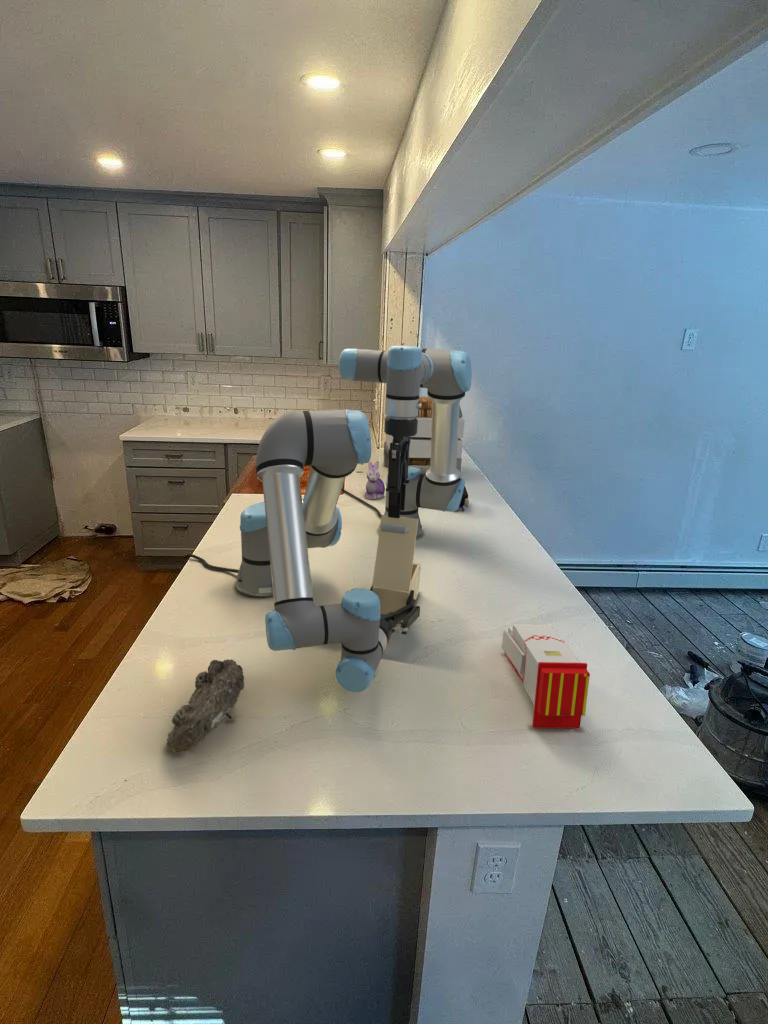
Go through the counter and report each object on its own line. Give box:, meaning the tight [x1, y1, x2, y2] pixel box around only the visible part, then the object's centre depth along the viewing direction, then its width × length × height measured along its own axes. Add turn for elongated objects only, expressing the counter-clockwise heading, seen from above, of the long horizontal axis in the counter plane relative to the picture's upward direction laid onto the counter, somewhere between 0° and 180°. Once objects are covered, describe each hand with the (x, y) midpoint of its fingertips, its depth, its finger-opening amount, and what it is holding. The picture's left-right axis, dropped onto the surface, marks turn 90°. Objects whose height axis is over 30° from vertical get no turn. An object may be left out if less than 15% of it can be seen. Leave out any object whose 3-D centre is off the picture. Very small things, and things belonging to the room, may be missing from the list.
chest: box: [372, 562, 422, 621], centre depth 151 cm, size 17×9×9 cm, turn 167°
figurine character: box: [455, 485, 470, 512], centre depth 229 cm, size 7×8×15 cm
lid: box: [371, 514, 418, 591], centre depth 138 cm, size 18×9×8 cm
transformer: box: [383, 396, 465, 475], centre depth 268 cm, size 34×33×41 cm
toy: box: [501, 623, 591, 729], centre depth 120 cm, size 12×13×30 cm
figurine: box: [364, 460, 386, 500], centre depth 235 cm, size 9×10×15 cm
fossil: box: [166, 658, 245, 754], centre depth 106 cm, size 22×10×15 cm
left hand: (392, 592), depth 145 cm, fingers closed on chest, 9 cm apart
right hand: (396, 513), depth 136 cm, fingers open, 5 cm apart
